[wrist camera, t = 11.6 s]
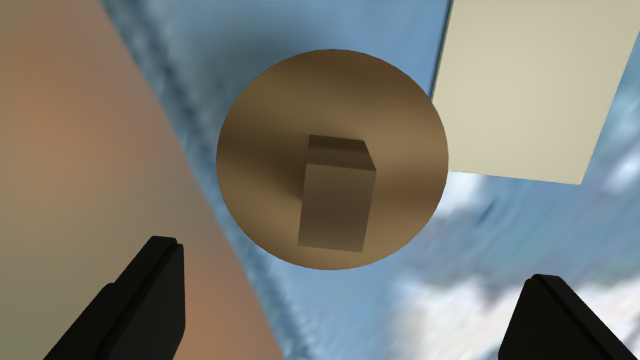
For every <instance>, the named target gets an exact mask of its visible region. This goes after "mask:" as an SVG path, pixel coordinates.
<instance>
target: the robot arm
mask: <svg viewBox="0 0 640 360" xmlns="http://www.w3.org/2000/svg"><path fill="white" fill-rule="evenodd" d="M184 330H185V287H184V249H183V245H182V244H177V240H176V239H175V238H172V237H162V236H152V237H151V238H150V239H149V240H148V241H147V243H146V244H145V245H144V246H143V248H142V249H141V250H140V251H139V253H138V254H137V255H136V257H135V258H134V259H133V260H132V261H131V262H130V264H129V265H128V266H127V267H126V269H125V270H124V271H123V272H122V274H121V275H120V276H119V277H118V279H117V280H116V281H115V282H114V283H109V284H107V285H106V286H105V287H103V288H102V290H101V291H100V292H99V293H98V294H97V296H96V297H95V298H94V299H93V300H92V302H91V303H90V304H89V305H88V306H87V307H86V309H85V310H84V311H83V312H82V314H81V315H80V316H79V317H78V318H77V319H76V321H75V322H74V323H73V324H72V325H71V327H70V328H69V329H68V330H67V331H66V333H65V334H64V335H63V336H62V337H61V339H60V340H59V341H58V342H57V344H56V345H55V346H54V347H53V348H52V349H51V351H50V352H49V353H48V354H47V355H46V357H45V358H44V359H43V360H173V357H174V355H175V353H176V351H177V348H178V346H179V344H180V342H181V339H182V337H183V334H184ZM498 360H638V359H637V358H636V357H635V356H634V355H633V354H632V353H631V352H630V351H629V350H628V348H627V347H626V346H625V345H624V344H623V343H622V342H621V341H620V340H619V339H618V338H617V337H616V336H615V335H614V334H613V333H612V331H611V330H610V329H609V328H608V327H607V326H606V325H605V324H604V323H603V322H602V321H601V320H600V319H599V318H598V317H597V315H596V314H595V313H594V312H593V311H592V310H591V309H590V308H589V307H588V306H587V305H586V304H585V303H584V302H583V301H582V300H581V298H580V297H579V296H578V295H577V294H576V293H575V292H574V291H573V290H572V289H571V288H570V287H569V286H568V285H567V284H566V282H565V281H564V280H563V279H562V278H560V277H559V276H553V275H543V274H535V275H533V276H532V277H531V279H527V280H526V281H525V283H524V286H523V289H522V291H521V294H520V297H519V299H518V302H517V304H516V307H515V310H514V312H513V315H512V318H511V320H510V323H509V326H508V328H507V331H506V333H505V336H504V339H503V341H502V344H501V347H500V349H499V353H498Z"/></svg>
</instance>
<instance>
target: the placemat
mask: <svg viewBox="0 0 640 360" xmlns="http://www.w3.org/2000/svg"><path fill="white" fill-rule="evenodd" d="M639 30H640V0H452V1H451V6H450V11H449V16H448V20H447V25H446V30H445V34H444V39H443V44H442V48H441V53H440V58H439V63H438V67H437V72H436V77H435V81H434V86H433V91H432V96H431V101H432V103H433V105H434V107H435V108H436V110H437V112H438V114H439V116H440V119H441V121H442V124H443V126H444V130H445V134H446V138H447V144H448V154H449V161H448V171H456V172H466V173H475V174H484V175H494V176H503V177H512V178H522V179H531V180H540V181H550V182H559V183H569V184H578V185H581V182H582V180H583V177H584V174H585V172H586V169H587V166H588V164H589V161H590V159H591V156H592V153H593V151H594V148H595V145H596V143H597V140H598V137H599V135H600V132H601V130H602V127H603V124H604V122H605V119H606V116H607V114H608V111H609V109H610V106H611V103H612V101H613V98H614V95H615V93H616V90H617V88H618V85H619V82H620V80H621V77H622V74H623V72H624V69H625V67H626V64H627V61H628V59H629V56H630V53H631V51H632V48H633V46H634V43H635V40H636V38H637V35H638V32H639Z"/></svg>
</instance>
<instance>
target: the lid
mask: <svg viewBox="0 0 640 360" xmlns="http://www.w3.org/2000/svg"><path fill="white" fill-rule="evenodd" d="M448 161H449V154H448V144H447V138H446V134H445V130H444V126H443V124H442V121H441V119H440V116H439V114H438V112H437V110H436V108H435V107H434V105H433V103H432V101H431V100H430V98H429V97H428V96H427V95H426V93H425V92H424V91H423V90H422V88H421V87H420V86H419V85H418V84H417V83H416V82H415V81H413V80H412V79H411V78H410V77H409V76H408V75H406V74H405V73H404V72H402V71H401V70H399V69H398V68H397V67H395V66H393V65H391V64H389V63H387V62H385V61H383V60H381V59H379V58H376V57H373V56H370V55H367V54H364V53H360V52H355V51H350V50H338V49H327V50H315V51H311V52H306V53H302V54H298V55H296V56H293V57H290V58H288V59H285V60H283V61H281V62H279V63H278V64H276V65H274V66H272V67H270V68H269V69H267V70H266V71H265V72H263V73H262V74H261V75H259V76H258V77H257V78H255V79H254V80H253V81H252V82H251V83H250V84H249V85H248V86H247V87H246V88H245V89H244V90H243V91H242V93H241V94H240V95H239V97H238V98H237V99H236V100H235V102H234V103H233V105H232V107H231V109H230V110H229V112H228V114H227V116H226V118H225V121H224V123H223V126H222V129H221V132H220V136H219V140H218V145H217V156H216V165H217V177H218V182H219V187H220V190H221V193H222V196H223V199H224V202H225V204H226V206H227V208H228V210H229V212H230V214H231V215H232V217H233V218H234V220H235V222H236V223H237V225H238V226H239V227H240V228H241V229H242V230H243V232H244V233H245V234H246V235H247V236H248V237H249V238H250V239H251V240H252V241H254V242H255V243H256V244H257V245H258V246H260V247H261V248H263V249H264V250H265V251H267V252H268V253H270V254H272V255H274V256H276V257H277V258H279V259H282V260H284V261H287V262H289V263H292V264H295V265H299V266H302V267H306V268H312V269H319V270H342V269H350V268H356V267H361V266H364V265H367V264H371V263H374V262H376V261H378V260H381V259H383V258H385V257H387V256H389V255H391V254H392V253H394V252H396V251H398V250H399V249H400V248H402V247H403V246H404V245H406V244H407V243H409V242H410V241H411V240H412V239H413V238H414V237H415V236H416V235H417V234H418V233H419V232H420V231H421V230H422V228H423V227H424V226H425V225H426V224H427V222H428V221H429V219H430V218H431V216H432V215H433V213H434V212H435V210H436V208H437V206H438V204H439V201H440V199H441V197H442V194H443V191H444V188H445V185H446V179H447V174H448Z"/></svg>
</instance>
